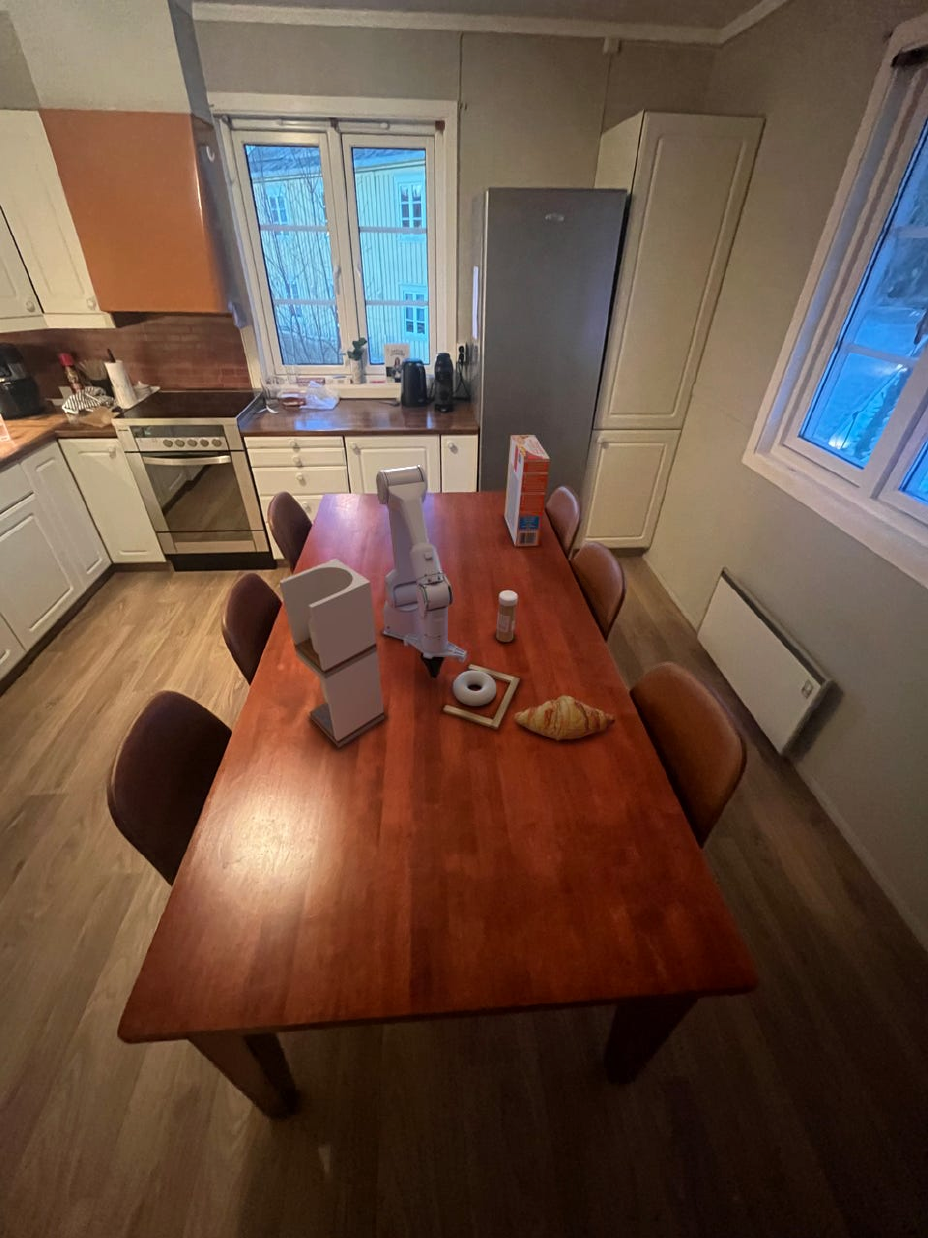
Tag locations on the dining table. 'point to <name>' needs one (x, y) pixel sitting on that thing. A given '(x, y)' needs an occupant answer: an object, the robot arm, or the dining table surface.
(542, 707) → the croissant
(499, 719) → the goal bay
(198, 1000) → the dining table surface
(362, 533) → the dining table surface
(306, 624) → the grey pedestal stand
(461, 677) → the donut
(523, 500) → the cereal box
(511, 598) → the sprinkles bottle
